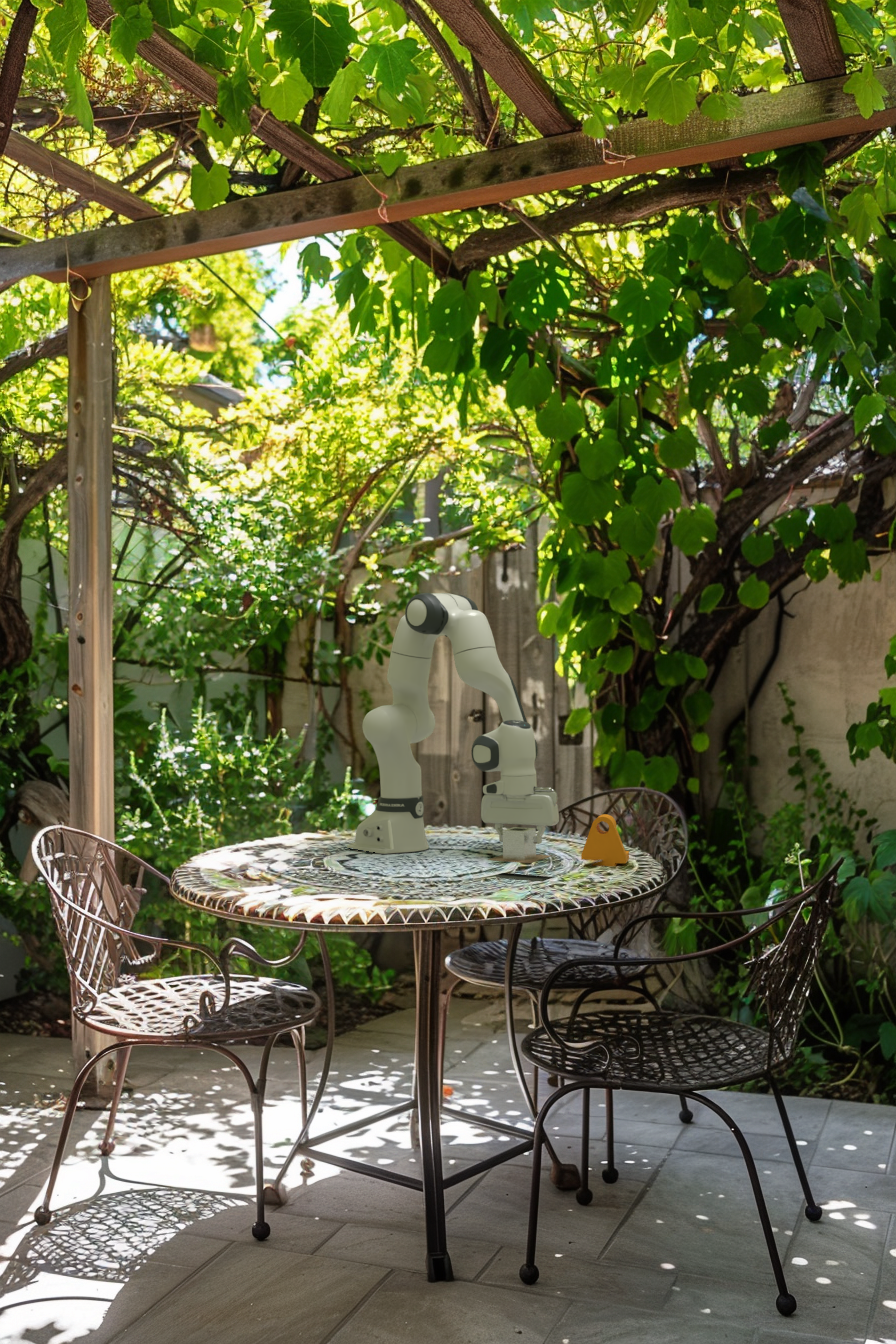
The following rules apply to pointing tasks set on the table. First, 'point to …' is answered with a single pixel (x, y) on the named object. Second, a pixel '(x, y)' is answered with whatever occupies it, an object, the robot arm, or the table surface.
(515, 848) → the white box
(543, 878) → the mat
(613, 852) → the bracket
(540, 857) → the post board
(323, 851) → the table surface
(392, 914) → the table surface
